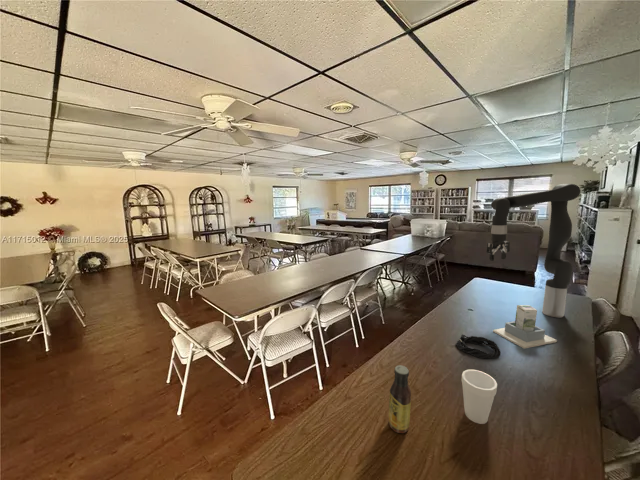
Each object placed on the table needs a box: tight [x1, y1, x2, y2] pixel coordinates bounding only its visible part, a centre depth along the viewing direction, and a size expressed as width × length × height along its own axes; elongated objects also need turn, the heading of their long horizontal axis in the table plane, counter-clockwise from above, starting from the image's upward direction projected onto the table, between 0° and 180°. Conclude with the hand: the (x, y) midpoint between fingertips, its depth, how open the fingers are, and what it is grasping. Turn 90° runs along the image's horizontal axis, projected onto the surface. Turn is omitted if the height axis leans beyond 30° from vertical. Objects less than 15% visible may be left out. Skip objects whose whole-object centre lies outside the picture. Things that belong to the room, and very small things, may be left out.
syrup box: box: [514, 304, 538, 332], centre depth 127 cm, size 6×6×14 cm
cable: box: [455, 334, 502, 359], centre depth 117 cm, size 17×14×4 cm
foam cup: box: [461, 369, 498, 425], centre depth 82 cm, size 10×9×13 cm
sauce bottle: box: [388, 364, 412, 434], centre depth 78 cm, size 7×6×20 cm
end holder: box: [492, 320, 558, 350], centre depth 127 cm, size 20×16×6 cm
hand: (497, 259), depth 152 cm, fingers open, 8 cm apart
